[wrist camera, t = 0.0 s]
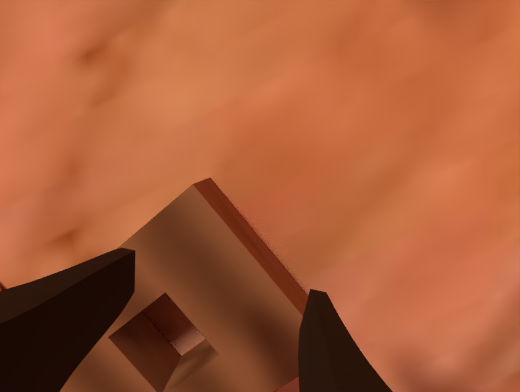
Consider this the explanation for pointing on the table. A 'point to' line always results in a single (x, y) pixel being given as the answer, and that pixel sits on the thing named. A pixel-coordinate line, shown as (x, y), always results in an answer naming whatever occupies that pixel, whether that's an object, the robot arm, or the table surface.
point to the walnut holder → (201, 307)
